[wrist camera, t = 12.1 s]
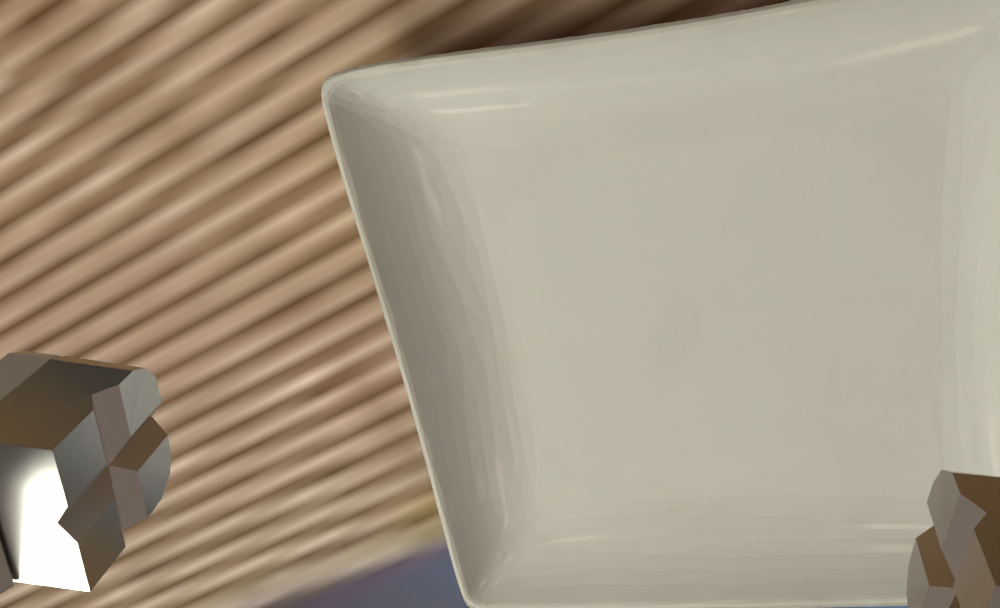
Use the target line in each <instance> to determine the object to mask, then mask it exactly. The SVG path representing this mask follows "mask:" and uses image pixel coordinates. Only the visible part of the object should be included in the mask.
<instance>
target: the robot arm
mask: <svg viewBox="0 0 1000 608" xmlns="http://www.w3.org/2000/svg"><path fill="white" fill-rule="evenodd" d="M160 403H161V398H160V394H159V389H158V385H157V381H156V377H155V376H154V375H153V374H152V373H150V372H149V371H148V370H146V369H145V368H141V367H134V366H128V365H121V364H114V363H107V362H101V361H94V360H87V359H81V358H74V357H67V356H63V357H61V356H58V355H52V354H44V353H36V352H29V351H21V352H14V353H9V354H8V355H6V356H5V357H4V358H2V359H1V360H0V594H1V593H3V592H5V591H6V590H8V589H10V588H11V587H13V586H14V582H13V581H15V582H22V583H29V584H37V585H44V586H51V587H59V588H66V589H73V590H80V591H88V592H90V591H91V590H92V589H93V587H94V586H95V585H96V584H97V582H98V581H99V580H100V578H101V577H102V576H103V575H104V573H105V572H106V571H107V569H108V568H109V567H110V566H111V564H112V563H113V562H114V561H115V559H116V558H117V557H118V555H119V554H120V553H121V552H122V550H123V549H124V548H125V541H124V534H123V530H125V529H127V528H129V527H130V526H132V525H134V524H136V523H138V522H140V521H142V520H144V519H146V518H148V517H149V515H150V514H151V512H152V511H153V510H154V508H155V507H156V506H157V504H158V503H159V501H160V500H161V498H162V495H163V492H164V490H165V487H166V484H167V481H168V478H169V475H170V462H171V451H170V445H169V439H168V435H167V434H166V433H165V431H164V430H163V429H162V428H161V427H160V426H159V425H158V423H157V422H156V421H155V420H154V419H153V418H152V415H153V414H154V412H155V411H156V409H157V408H158V406H159V405H160ZM927 505H928V508H929V512H930V515H931V518H932V521H933V524H934V526H932V527H931V528H929V529H928V530H927V531H925V532H924V533H922V534H921V535H919V536H918V537H916V539H915V542H914V546H913V550H912V554H911V557H910V561H909V565H908V578H907V591H906V594H907V604H908V608H1000V476H993V475H984V474H975V473H967V472H958V471H950V470H941V471H940V473H939V474H938V476H937V477H936V479H935V480H934V482H933V485H932V488H931V491H930V494H929V497H928V500H927Z"/></svg>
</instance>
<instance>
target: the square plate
mask: <svg viewBox="0 0 1000 608" xmlns="http://www.w3.org/2000/svg"><path fill="white" fill-rule="evenodd" d="M321 96H322V106H323V110H324V113H325V117H326V121H327V124H328V128H329V132H330V136H331V139H332V143H333V147H334V150H335V154H336V157H337V161H338V164H339V168H340V171H341V175H342V178H343V181H344V185H345V188H346V192H347V195H348V198H349V201H350V205H351V208H352V211H353V215H354V218H355V221H356V224H357V228H358V231H359V234H360V237H361V241H362V244H363V247H364V250H365V254H366V257H367V260H368V263H369V266H370V270H371V273H372V276H373V279H374V282H375V286H376V289H377V293H378V296H379V300H380V303H381V307H382V310H383V314H384V317H385V320H386V324H387V327H388V330H389V334H390V337H391V340H392V343H393V347H394V350H395V353H396V356H397V360H398V363H399V367H400V370H401V374H402V377H403V380H404V384H405V387H406V390H407V394H408V397H409V401H410V405H411V409H412V413H413V416H414V420H415V424H416V427H417V431H418V434H419V438H420V442H421V446H422V449H423V453H424V457H425V461H426V465H427V468H428V472H429V476H430V480H431V484H432V487H433V491H434V495H435V499H436V503H437V507H438V511H439V515H440V519H441V522H442V526H443V530H444V533H445V537H446V541H447V545H448V549H449V552H450V556H451V560H452V563H453V567H454V571H455V574H456V578H457V581H458V584H459V587H460V590H461V593H462V596H463V598H464V601H465V603H466V604H467V606H469V607H470V608H813V607H856V606H908V604H907V594H906V591H907V578H908V565H909V561H910V557H911V554H912V550H913V546H914V542H915V539H916V537H918V536H919V535H921V534H922V533H924V532H925V531H927V530H928V529H929V528H931V527H932V526H934V524H933V521H932V518H931V515H930V512H929V508H928V505H927V500H928V497H929V494H930V491H931V488H932V485H933V482H934V480H935V479H936V477H937V476H938V474H939V473H940V471H941V470H950V471H958V472H967V473H975V474H984V475H993V476H1000V0H790V1H787V2H783V3H778V4H773V5H768V6H763V7H758V8H752V9H747V10H740V11H734V12H728V13H723V14H718V15H712V16H707V17H700V18H694V19H688V20H681V21H675V22H668V23H661V24H654V25H648V26H643V27H637V28H632V29H625V30H618V31H612V32H603V33H594V34H588V35H582V36H572V37H565V38H558V39H552V40H544V41H537V42H529V43H522V44H514V45H505V46H496V47H486V48H480V49H474V50H465V51H458V52H451V53H445V54H435V55H428V56H421V57H414V58H406V59H396V60H390V61H385V62H380V63H374V64H369V65H364V66H359V67H354V68H350V69H346V70H342V71H340V72H338V73H335V74H333V75H330V76H329V77H327V78H326V80H325V81H324V83H323V85H322V92H321Z"/></svg>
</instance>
